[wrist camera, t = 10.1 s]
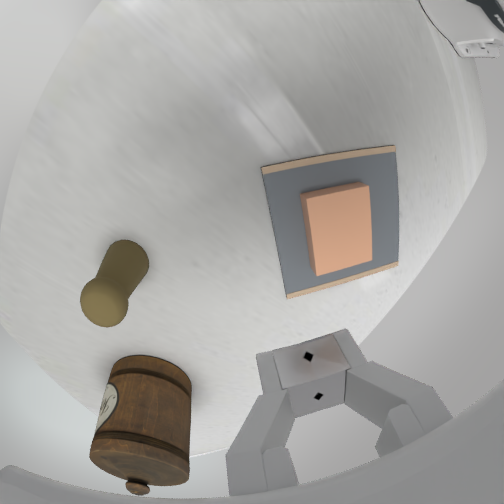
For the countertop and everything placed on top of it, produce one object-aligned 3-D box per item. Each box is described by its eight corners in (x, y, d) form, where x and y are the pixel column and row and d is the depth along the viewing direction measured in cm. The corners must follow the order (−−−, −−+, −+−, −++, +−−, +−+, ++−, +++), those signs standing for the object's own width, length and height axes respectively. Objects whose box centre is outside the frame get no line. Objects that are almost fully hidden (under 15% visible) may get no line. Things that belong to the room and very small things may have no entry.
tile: (299, 193, 32) (359, 181, 32) (310, 267, 36) (363, 252, 36) (306, 198, 30) (368, 185, 30) (316, 276, 34) (372, 260, 34)
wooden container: (102, 350, 39) (66, 465, 19) (188, 356, 41) (185, 486, 21) (122, 401, 45) (106, 496, 25) (194, 406, 47) (197, 508, 27)
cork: (144, 237, 32) (117, 283, 22) (153, 280, 34) (134, 336, 25) (101, 242, 31) (63, 287, 21) (112, 283, 34) (84, 336, 24)
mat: (393, 145, 31) (395, 145, 30) (396, 264, 38) (398, 265, 38) (260, 167, 30) (261, 167, 30) (286, 297, 38) (287, 299, 38)
